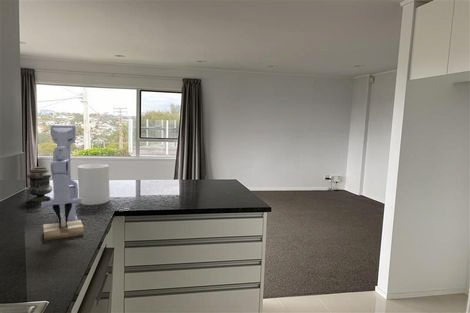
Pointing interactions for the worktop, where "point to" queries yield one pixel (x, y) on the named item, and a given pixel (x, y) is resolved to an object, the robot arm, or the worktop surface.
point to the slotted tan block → (63, 230)
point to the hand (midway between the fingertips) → (63, 222)
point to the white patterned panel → (124, 208)
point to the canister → (93, 183)
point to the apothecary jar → (39, 183)
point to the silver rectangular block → (63, 220)
